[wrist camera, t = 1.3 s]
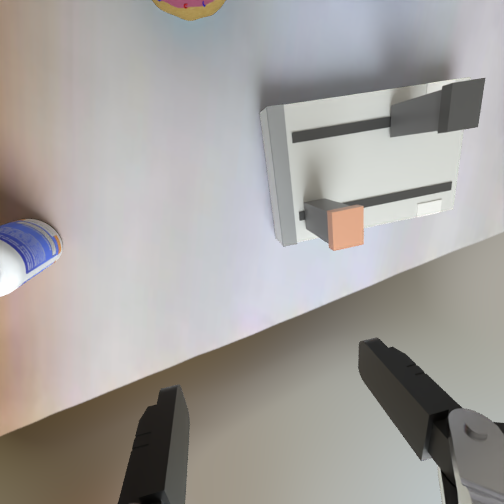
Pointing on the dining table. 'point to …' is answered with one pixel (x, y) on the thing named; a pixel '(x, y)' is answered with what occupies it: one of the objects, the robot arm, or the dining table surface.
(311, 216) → the terracotta fader
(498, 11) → the dining table surface
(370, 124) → the console
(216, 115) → the dining table surface
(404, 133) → the black fader
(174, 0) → the cupcake
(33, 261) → the pill bottle
